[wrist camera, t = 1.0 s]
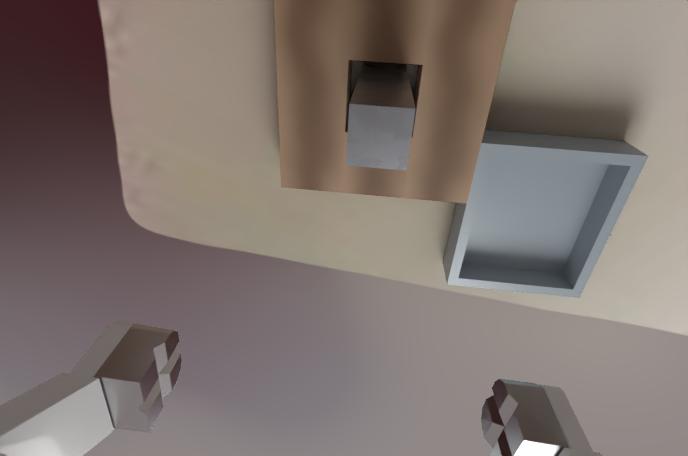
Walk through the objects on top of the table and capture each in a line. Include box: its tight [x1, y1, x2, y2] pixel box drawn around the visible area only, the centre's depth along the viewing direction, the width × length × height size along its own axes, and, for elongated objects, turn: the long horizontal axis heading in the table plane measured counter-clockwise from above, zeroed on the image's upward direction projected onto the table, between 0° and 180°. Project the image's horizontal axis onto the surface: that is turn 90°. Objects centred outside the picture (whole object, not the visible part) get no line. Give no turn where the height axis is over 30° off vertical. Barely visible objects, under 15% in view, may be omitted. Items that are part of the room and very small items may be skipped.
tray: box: [443, 130, 648, 298], centre depth 39 cm, size 14×16×4 cm
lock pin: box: [346, 66, 416, 171], centre depth 30 cm, size 4×4×14 cm
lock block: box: [274, 0, 516, 204], centre depth 35 cm, size 18×18×4 cm
